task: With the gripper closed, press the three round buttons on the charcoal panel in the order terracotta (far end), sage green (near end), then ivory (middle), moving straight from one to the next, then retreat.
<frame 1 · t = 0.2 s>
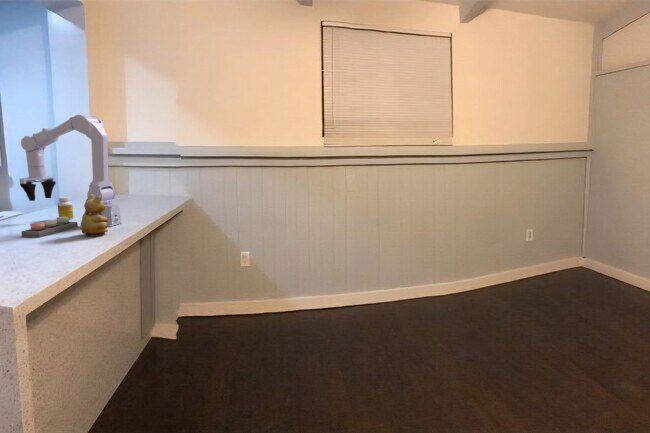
hand: (40, 199, 165), 10 cm above the table, tool pointing down, fingers open, 7 cm apart
panel: (51, 231, 151), on the table
decorative figurine: (94, 235, 146), on the table
sage button: (62, 220, 156), point 3 cm above the table, slide at 0.0 cm
terracotta button: (37, 226, 145), point 3 cm above the table, slide at 0.0 cm
ivory button: (50, 223, 150), point 3 cm above the table, slide at 0.0 cm
supplement bottle: (66, 219, 175), on the table
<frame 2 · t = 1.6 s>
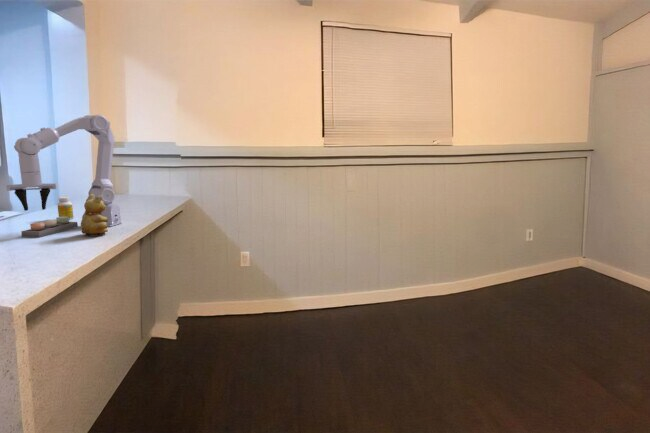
hand: (35, 209, 143), 9 cm above the table, tool pointing down, fingers open, 5 cm apart
nothing on the table moved.
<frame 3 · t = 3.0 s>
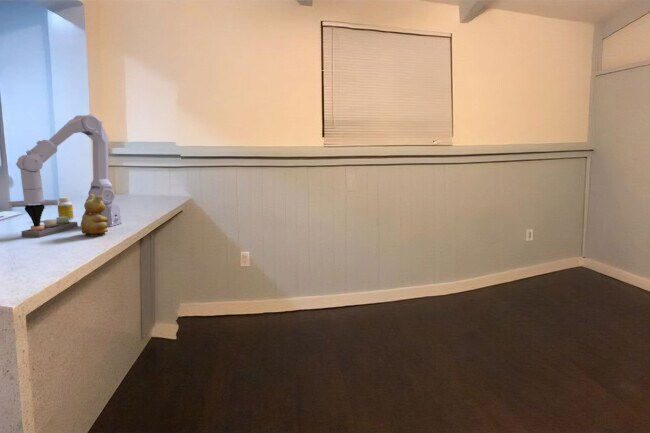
hand: (37, 225, 145), 3 cm above the table, tool pointing down, fingers closed, pressing on terracotta button
terracotta button: (37, 228, 145), point 2 cm above the table, slide at 0.8 cm, touching gripper
everything else where it was.
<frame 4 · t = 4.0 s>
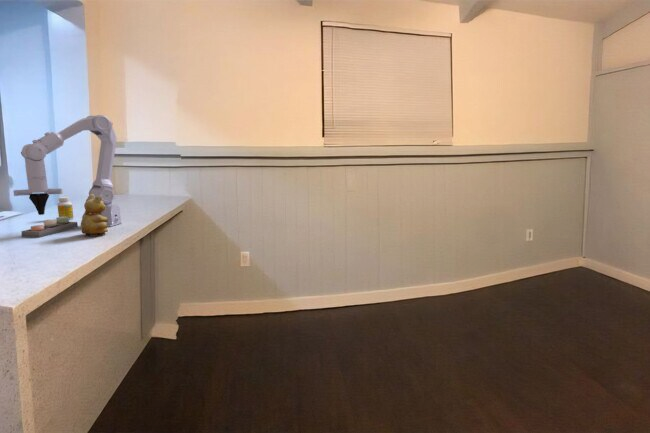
hand: (41, 214, 146), 7 cm above the table, tool pointing down, fingers closed
terracotta button: (37, 228, 145), point 2 cm above the table, slide at 1.0 cm
everything else where it was.
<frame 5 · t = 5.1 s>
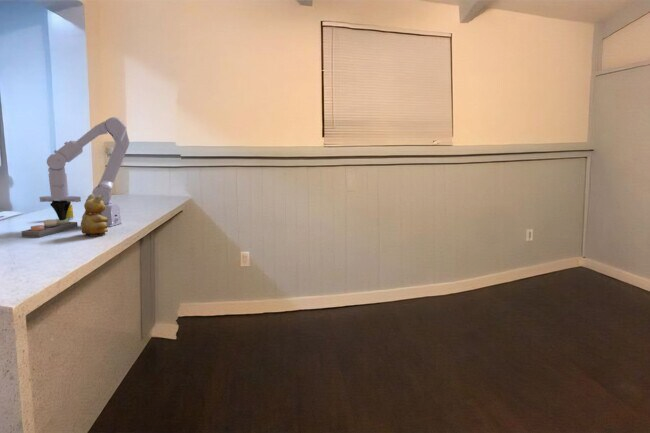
hand: (62, 219, 156), 3 cm above the table, tool pointing down, fingers closed, pressing on sage button
sage button: (62, 222, 156), point 2 cm above the table, slide at 0.9 cm, touching gripper
everything else where it was.
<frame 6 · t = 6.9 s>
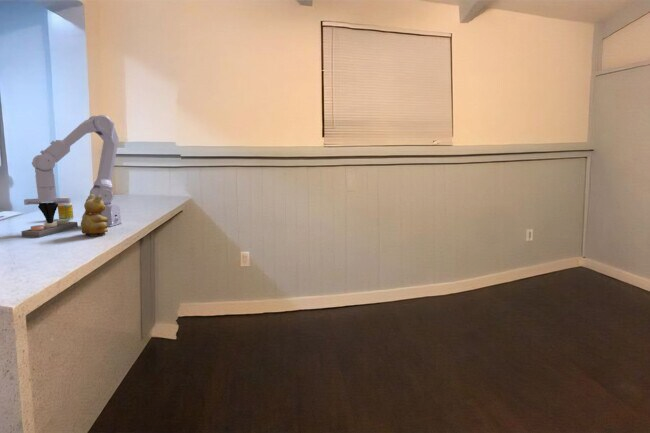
hand: (50, 222, 150), 3 cm above the table, tool pointing down, fingers closed, pressing on ivory button
sage button: (63, 222, 156), point 2 cm above the table, slide at 1.0 cm
ivory button: (50, 225, 151), point 2 cm above the table, slide at 0.9 cm, touching gripper
everything else where it was.
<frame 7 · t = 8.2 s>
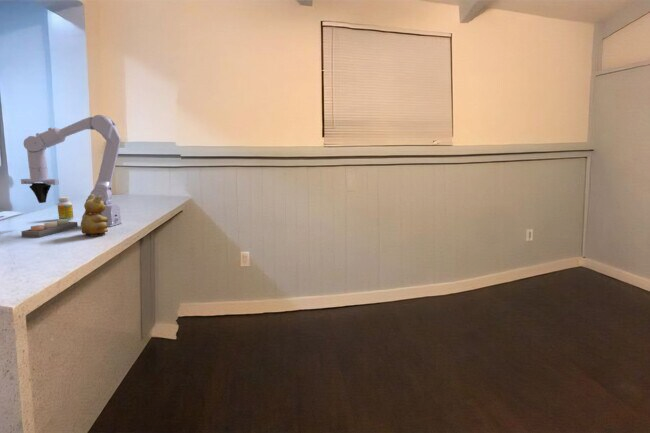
hand: (42, 202, 156), 10 cm above the table, tool pointing down, fingers closed
ivory button: (50, 225, 151), point 2 cm above the table, slide at 1.0 cm
everything else where it was.
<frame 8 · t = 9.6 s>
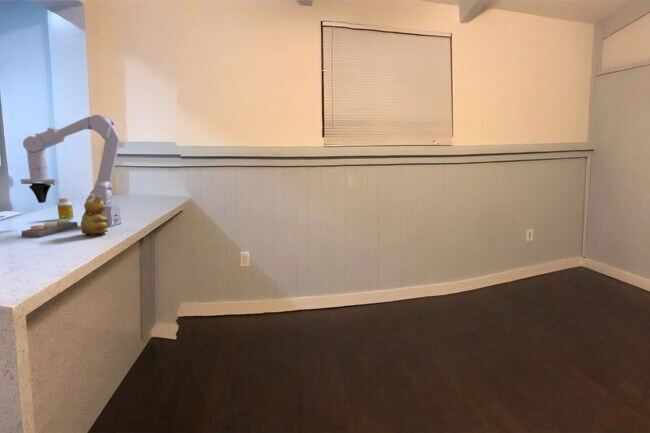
hand: (42, 202, 157), 10 cm above the table, tool pointing down, fingers closed
nothing on the table moved.
at the end: terracotta button slide at 1.0 cm; sage button slide at 1.0 cm; ivory button slide at 1.0 cm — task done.
